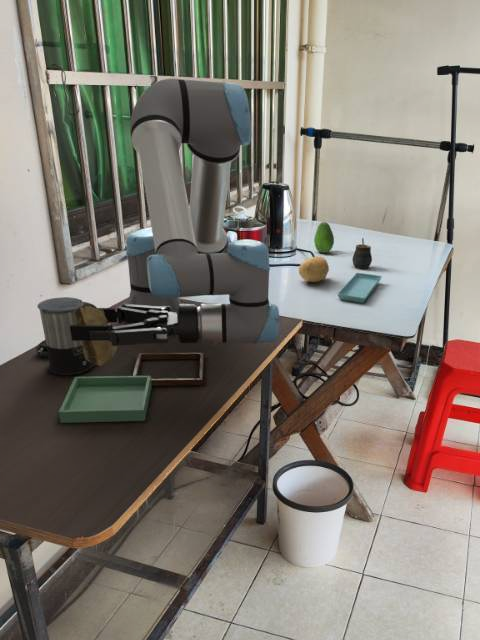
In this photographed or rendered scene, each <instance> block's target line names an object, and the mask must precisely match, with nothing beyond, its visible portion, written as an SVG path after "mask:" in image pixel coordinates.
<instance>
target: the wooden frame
mask: <svg viewBox="0 0 480 640" xmlns="http://www.w3.org/2000/svg"><path fill="white" fill-rule="evenodd" d="M204 358H205V357H204V352H138V355H137V357H136V361H135V364H134V369H133V373H132V376H139V374H140V373H139V372H140V369H141V365H142V361H143V360H199V375H198V378H195V377H194V378H193V377H192V378H151V382H152V387H159V386H160V387H177V386H203V385H204V360H205V359H204Z"/></svg>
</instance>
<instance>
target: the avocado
mask: <svg viewBox="0 0 480 640" xmlns="http://www.w3.org/2000/svg"><path fill="white" fill-rule="evenodd" d="M334 245H335V237H334V233H333V230H332V228H331V225H330V224H329V223H328V222H326V221H325V222H324V221H322V222H320V223H319V224H318V226H317V228H316V231H315V234H314V246H315V249H316V251H318V252H319V253H320V254H326V253H329V252H330V251H331V250H332V249H333V246H334Z"/></svg>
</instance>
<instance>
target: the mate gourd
mask: <svg viewBox="0 0 480 640" xmlns="http://www.w3.org/2000/svg"><path fill="white" fill-rule="evenodd" d="M361 243H362V244H356V245H355V250H354V253H353V255H352V258H351V259H352V265H353V266H354V268H356V269H360V270H366V269H368V268H369V267H370V266H371V264H372V262H373V257H372V252H371V251H372V247H371V245H368V244H365V240H364V237H363V238H362V237H361Z"/></svg>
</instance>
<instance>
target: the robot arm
mask: <svg viewBox="0 0 480 640" xmlns="http://www.w3.org/2000/svg"><path fill="white" fill-rule="evenodd" d="M247 95H248V94H247V93H246V90H245V88H244V87H243V86H242V85H241V84H238V83H234V82H226V81H225V80H222V81H221V82H220V81H207V80H194V79H180V78H173V77H171V78H164V79H160V80H158V81H156V82H154V83H152V84H151V85H150V86H148V87H147V88H146V89H145V90H144V91H143V92H142V94H141V95H140V96H139V98H138V99H137V100H136V103H135V105H134V107H133V110H132V113H131V117H130V122H129V131H130V132H129V133H130V138H131V144H132V147H133V149H134V150H135V151H136V152H137V153H138V155H139V160H140V166H141V172H142V178H143V179H142V180H143V185H144V191H145V197H146V203H147V208H148V215H149V223H150V226H151V227H146V228H141V229H137V230H134V231H133V232H130V233H129V234H128V235H127V237H126V239H125V242H126V245H125V246H126V252H125V255H126V256H127V265H128V275H129V287H130V292H129V297H128V301H127V303H121V304H120V306H117V307H97V309H99V310H103V311H104V315H105V317H106V318H107V320H108V322H109V324H107V325H70V331H71V337H72V341H102V340H109V341H110V342H111V343H112V345H113V346H117V347H119V346H131V345H139V344H140V345H141V344H155V343H156V344H158V343H159V344H167V343H168V342H169V338H168V337H173V336H177V337H178V342H179V343H180V344H198V343H199V341H201V343H203V344H212V345H213V346H216V345H218V344H231V343H232V344H254V345H255V344H256V345H257V344H267V343H273V342H276V341H278V338H279V335H280V310H279V307H278V306H277V304H273V303H270V300H269V291H270V290H269V287H270V286H269V285H270V270H271V267H270V255H269V248H268V246H267V245H266V244H265V243H264V242H263V241H259V240H256V239H246V238H245V239H238V240H237V239H235V240H232V239H231V237H230V235H229V234H228V233H227V232H226V230H225V228H224V221H225V214H226V205H227V197H228V190H229V183H230V175H231V167H232V166H231V165H232V162H233V161H235V160H236V159H237V158H238V157H239V154H240V151H241V147H246V146H249V145H250V144H251V140H252V119H251V112H250V103H249V99H248V96H247ZM182 144H186V146H187V149H188V151H189V152H190V153H191V154H192V161H191V162H192V163H191V176H190V177H191V178H190V180H191V181H190V195H189V196H190V197H189V199H188V193H187V189H186V184H185V178H184V172H183V167H182V162H181V157H180V151H179V150H180V148H181V146H182ZM226 295H227V296H229V297H228V302H229V303H201V304H200V305H199V306H198V305H197V304H196V303H182V302H181V300H180V298H185V297H186V298H187V297H188V298H189V297H201V296H202V297H203V296H226ZM124 322H126V323H129V324H122V323H124ZM112 323H118V326H117V325H116V326H113V325H112ZM121 324H122V325H121ZM112 326H113V327H112Z"/></svg>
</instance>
